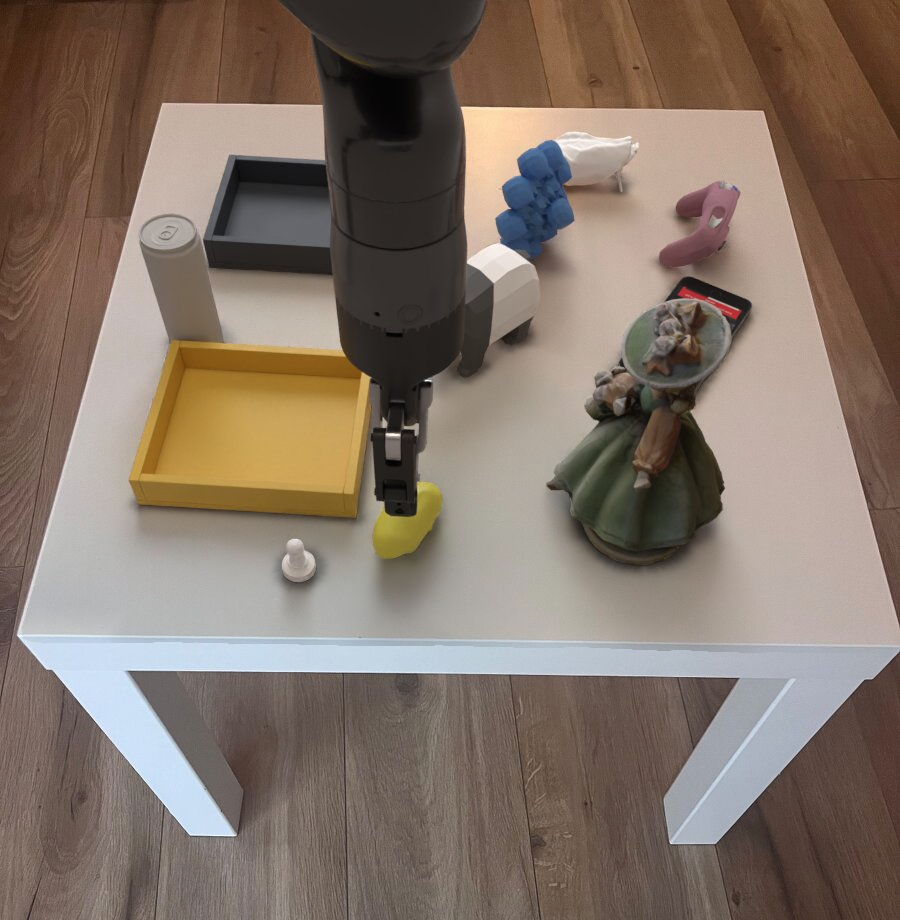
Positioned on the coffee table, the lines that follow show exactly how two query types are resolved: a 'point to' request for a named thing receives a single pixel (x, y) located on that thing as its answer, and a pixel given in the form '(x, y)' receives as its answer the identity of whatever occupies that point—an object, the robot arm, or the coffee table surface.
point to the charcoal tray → (271, 216)
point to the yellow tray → (255, 431)
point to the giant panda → (497, 302)
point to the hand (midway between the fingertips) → (406, 464)
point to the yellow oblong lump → (407, 524)
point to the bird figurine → (595, 157)
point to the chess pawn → (298, 562)
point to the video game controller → (703, 224)
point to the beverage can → (180, 278)
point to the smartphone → (725, 301)
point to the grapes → (536, 200)
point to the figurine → (649, 438)
